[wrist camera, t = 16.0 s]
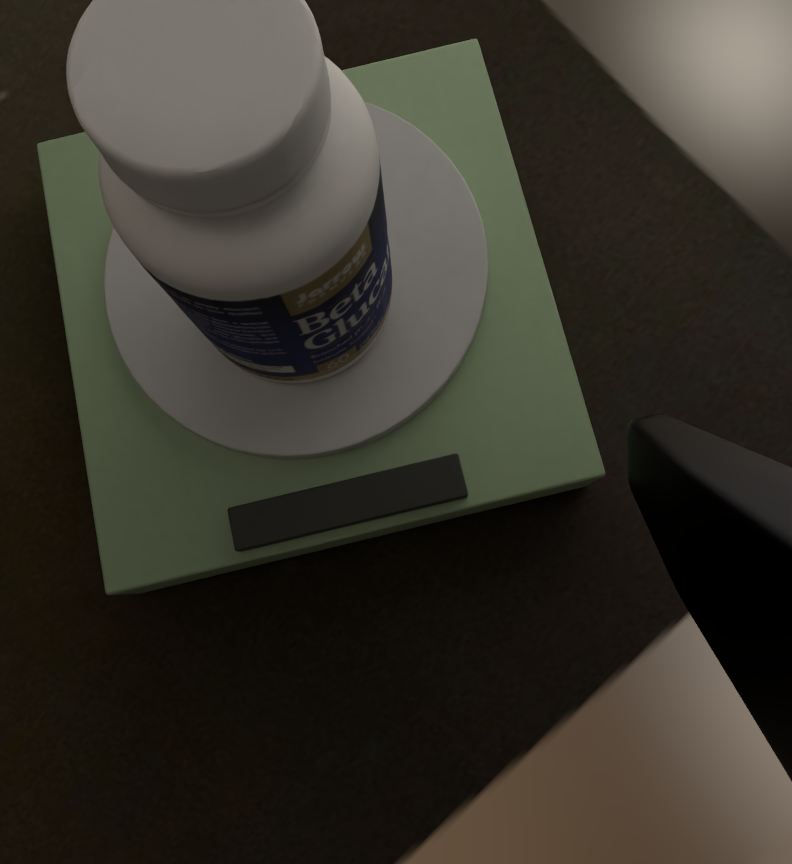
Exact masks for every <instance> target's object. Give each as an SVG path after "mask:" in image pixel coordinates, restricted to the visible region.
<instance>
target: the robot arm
mask: <svg viewBox="0 0 792 864" xmlns="http://www.w3.org/2000/svg"><path fill="white" fill-rule="evenodd" d="M626 436H627V475H628V481H629V485H630V488H631V491H632V493H633V495H634V498H635V500H636V502H637V504H638V506H639V509H640V511H641V513H642V515H643V518H644V520H645V522H646V524H647V526H648V529H649V531H650V533H651V535H652V537H653V540H654V542H655V544H656V546H657V549H658V551H659V553H660V555H661V557H662V560H663V562H664V564H665V566H666V568H667V571H668V573H669V575H670V577H671V579H672V581H673V583H674V586H675V588H676V590H677V592H678V593H679V595H680V597H681V599H682V601H683V602H684V604H685V606H686V608H687V609H688V611H689V613H690V614H691V616H692V618H693V619H694V621H695V622H696V624H697V626H698V627H699V629H700V631H701V632H702V634H703V636H704V637H705V639H706V640H707V642H708V644H709V646H710V647H711V649H712V650H713V652H714V654H715V655H716V657H717V659H718V660H719V662H720V664H721V665H722V667H723V669H724V670H725V672H726V673H727V675H728V677H729V678H730V680H731V682H732V683H733V685H734V687H735V688H736V690H737V692H738V693H739V695H740V697H741V698H742V700H743V701H744V703H745V705H746V707H747V708H748V710H749V711H750V713H751V715H752V716H753V718H754V720H755V721H756V723H757V725H758V726H759V728H760V730H761V731H762V733H763V734H764V736H765V738H766V740H767V741H768V743H769V744H770V746H771V748H772V749H773V751H774V752H775V754H776V756H777V758H778V759H779V761H780V762H781V764H782V766H783V767H784V769H785V771H786V772H787V774H788V776H789V777H790V779H791V781H792V468H791V467H788V466H786V465H784V464H781V463H779V462H776V461H774V460H772V459H769V458H767V457H764V456H762V455H760V454H757V453H755V452H753V451H750V450H748V449H745V448H743V447H741V446H738V445H736V444H734V443H731V442H729V441H726V440H724V439H722V438H719V437H717V436H714V435H712V434H710V433H707V432H705V431H703V430H700V429H698V428H695V427H693V426H691V425H688V424H686V423H684V422H681V421H679V420H676V419H674V418H672V417H669V416H667V415H664V414H655V415H650V416H646V417H642V418H638V419H634V420H631V421H630V423H629V424H628V426H627V432H626Z"/></svg>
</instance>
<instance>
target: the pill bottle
mask: <svg viewBox="0 0 792 864" xmlns="http://www.w3.org/2000/svg"><path fill="white" fill-rule="evenodd" d="M66 70H67V85H68V92H69V97H70V100H71V103H72V106H73V109H74V112H75V114H76V116H77V118H78V120H79V122H80V124H81V126H82V127H83V129H84V131H85V132H86V134H87V135H88V136H89V138H90V139H91V140H92V142H93V143H94V144H95V146H96V147H97V149H98V150H99V151H100V153H99V162H98V173H99V183H100V190H101V195H102V199H103V202H104V205H105V208H106V211H107V214H108V216H109V218H110V221H111V223H112V225H113V227H114V228H115V230H116V232H117V233H118V235H119V236H120V238H121V239H122V241H123V242H124V244H125V245H126V246H127V248H128V249H129V250H130V252H131V253H132V254H133V255H134V256H135V258H136V259H137V260H138V261H139V263H140V264H141V265H142V266H143V268H144V269H145V270H146V271H147V272H148V273H149V274H150V275H151V277H152V278H153V279H154V280H155V281H156V282H157V283H158V284H159V285H160V286H161V287H162V288H163V290H164V291H165V292H166V293H167V294H168V295H169V296H170V297H171V299H172V300H173V301H174V302H175V303H176V304H177V305H178V307H179V308H180V309H181V310H182V311H183V312H184V313H185V315H186V316H187V317H188V318H189V319H190V320H191V321H192V322H193V323H194V324H195V326H196V327H197V328H198V329H199V330H200V331H201V332H202V333H203V334H204V335H205V337H206V338H207V339H208V340H209V341H210V342H211V343H212V344H213V345H214V346H215V347H216V349H217V350H218V351H219V352H220V353H222V354H223V355H224V356H225V357H226V358H227V359H228V360H229V361H231V362H232V363H233V364H234V365H236V366H237V367H239V368H240V369H242V370H244V371H245V372H247V373H249V374H251V375H253V376H256V377H259V378H261V379H265V380H269V381H273V382H278V383H305V382H312V381H317V380H321V379H324V378H327V377H330V376H333V375H335V374H337V373H339V372H341V371H343V370H344V369H346V368H348V367H349V366H351V365H352V364H354V363H355V362H356V361H357V360H359V359H360V358H361V357H362V356H363V355H364V354H365V353H366V352H367V351H368V350H369V348H370V347H371V346H372V345H373V343H374V342H375V341H376V339H377V338H378V336H379V334H380V333H381V331H382V329H383V327H384V325H385V322H386V320H387V317H388V314H389V309H390V305H391V299H392V287H393V283H392V280H393V279H392V266H391V257H390V247H389V238H388V229H387V219H386V210H385V201H384V192H383V184H382V174H381V165H380V155H379V150H378V144H377V139H376V134H375V130H374V126H373V123H372V120H371V117H370V114H369V112H368V110H367V108H366V105H365V103H364V101H363V99H362V97H361V96H360V94H359V93H358V91H357V90H356V88H355V87H354V85H353V84H352V83H351V81H350V80H349V79H348V78H347V77H346V75H345V74H344V73H343V72H342V71H341V70H340V69H339V68H338V67H337V66H336V65H335V64H334V63H332V62H331V61H330V60H329V59H328V58H326V57H325V56H324V53H323V48H322V43H321V38H320V34H319V31H318V27H317V25H316V22H315V19H314V17H313V14H312V12H311V10H310V9H309V7H308V5H307V3H306V2H305V0H93V1H92V2H91V4H90V5H89V6H88V7H87V9H86V11H85V12H84V14H83V16H82V17H81V19H80V20H79V22H78V25H77V27H76V30H75V32H74V34H73V37H72V40H71V43H70V46H69V51H68V56H67V65H66Z"/></svg>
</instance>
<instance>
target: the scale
mask: <svg viewBox="0 0 792 864" xmlns="http://www.w3.org/2000/svg"><path fill="white" fill-rule="evenodd" d="M342 72H343V73H344V74H345V75H346V77H347V78H348V79H349V80H350V81H351V83H352V84H353V85H354V87H355V88H356V90H357V91H358V93H359V94H360V96H361V97H362V99H363V101H364V103H365V105H366V108H367V110H368V112H369V114H370V117H371V120H372V123H373V126H374V130H375V134H376V139H377V144H378V150H379V155H380V165H381V174H382V184H383V192H384V201H385V210H386V219H387V229H388V238H389V247H390V257H391V266H392V279H393V280H392V283H393V287H392V299H391V305H390V309H389V314H388V317H387V320H386V322H385V325H384V327H383V329H382V331H381V333H380V334H379V336H378V338H377V339H376V341H375V342H374V343H373V345H372V346H371V347H370V348H369V350H368V351H367V352H366V353H365V354H364V355H363V356H362V357H361V358H360V359H359V360H357V361H356V362H355V363H354V364H352V365H351V366H349V367H348V368H346V369H344V370H343V371H341V372H339V373H337V374H335V375H333V376H330V377H327V378H324V379H321V380H317V381H312V382H305V383H278V382H273V381H269V380H265V379H261V378H259V377H256V376H253V375H251V374H249V373H247V372H245V371H244V370H242V369H240V368H239V367H237V366H236V365H234V364H233V363H232V362H231V361H229V360H228V359H227V358H226V357H225V356H224V355H223V354H222V353H220V352H219V351H218V350H217V349H216V347H215V346H214V345H213V344H212V343H211V342H210V341H209V340H208V339H207V338H206V337H205V335H204V334H203V333H202V332H201V331H200V330H199V329H198V328H197V327H196V326H195V324H194V323H193V322H192V321H191V320H190V319H189V318H188V317H187V316H186V315H185V313H184V312H183V311H182V310H181V309H180V308H179V307H178V305H177V304H176V303H175V302H174V301H173V300H172V299H171V297H170V296H169V295H168V294H167V293H166V292H165V291H164V290H163V288H162V287H161V286H160V285H159V284H158V283H157V282H156V281H155V280H154V279H153V278H152V277H151V275H150V274H149V273H148V272H147V271H146V270H145V269H144V268H143V266H142V265H141V264H140V263H139V261H138V260H137V259H136V258H135V256H134V255H133V254H132V253H131V252H130V250H129V249H128V248H127V246H126V245H125V244H124V242H123V241H122V239H121V238H120V236H119V235H118V233H117V232H116V230H115V228H114V227H113V225H112V223H111V221H110V218H109V216H108V214H107V211H106V208H105V205H104V202H103V199H102V195H101V190H100V183H99V173H98V162H99V153H100V151H99V150H98V149H97V147H96V146H95V144H94V143H93V142H92V140H91V139H90V138H89V136H88V135H87V134H86V132H83V133H79V134H75V135H71V136H67V137H62V138H58V139H54V140H50V141H46V142H42V143H38V144H37V149H38V156H39V162H40V169H41V175H42V182H43V188H44V195H45V201H46V208H47V214H48V221H49V227H50V234H51V240H52V247H53V253H54V260H55V266H56V273H57V279H58V286H59V292H60V299H61V306H62V312H63V319H64V325H65V332H66V338H67V345H68V351H69V358H70V364H71V371H72V377H73V384H74V390H75V397H76V403H77V410H78V416H79V423H80V429H81V436H82V442H83V449H84V455H85V462H86V468H87V475H88V481H89V488H90V494H91V501H92V508H93V514H94V521H95V527H96V534H97V540H98V547H99V553H100V560H101V566H102V573H103V579H104V586H105V592H106V594H107V595H122V594H139V593H144V592H148V591H153V590H157V589H161V588H165V587H169V586H173V585H178V584H182V583H186V582H190V581H194V580H198V579H202V578H207V577H211V576H215V575H219V574H223V573H227V572H232V571H236V570H240V569H244V568H248V567H252V566H257V565H261V564H265V563H269V562H273V561H277V560H282V559H286V558H290V557H294V556H298V555H302V554H307V553H311V552H315V551H319V550H323V549H327V548H332V547H336V546H340V545H344V544H348V543H352V542H356V541H361V540H365V539H369V538H373V537H377V536H381V535H386V534H390V533H394V532H398V531H402V530H406V529H411V528H415V527H419V526H423V525H427V524H431V523H436V522H440V521H444V520H448V519H452V518H456V517H461V516H465V515H469V514H473V513H477V512H481V511H486V510H490V509H494V508H498V507H502V506H506V505H510V504H515V503H519V502H523V501H527V500H531V499H535V498H540V497H544V496H548V495H552V494H556V493H560V492H565V491H569V490H573V489H577V488H581V487H585V486H588V485H589V484H591V483H593V482H594V481H596V480H598V479H600V478H601V477H603V476H604V475H605V470H604V467H603V463H602V460H601V456H600V453H599V450H598V446H597V443H596V440H595V436H594V433H593V429H592V426H591V423H590V419H589V416H588V412H587V409H586V406H585V402H584V399H583V395H582V392H581V389H580V385H579V382H578V378H577V375H576V372H575V368H574V365H573V361H572V358H571V355H570V351H569V348H568V345H567V341H566V338H565V334H564V331H563V328H562V324H561V321H560V317H559V314H558V311H557V307H556V304H555V300H554V297H553V294H552V290H551V287H550V283H549V280H548V277H547V273H546V270H545V266H544V263H543V260H542V256H541V253H540V250H539V246H538V243H537V239H536V236H535V233H534V229H533V226H532V222H531V219H530V216H529V212H528V209H527V205H526V202H525V199H524V195H523V192H522V188H521V185H520V182H519V178H518V175H517V171H516V168H515V165H514V161H513V158H512V155H511V151H510V148H509V144H508V141H507V138H506V134H505V131H504V127H503V124H502V121H501V117H500V114H499V110H498V107H497V104H496V100H495V97H494V93H493V90H492V87H491V83H490V80H489V77H488V73H487V70H486V66H485V63H484V60H483V56H482V53H481V49H480V46H479V43H478V40H477V39H472V40H468V41H464V42H459V43H455V44H451V45H447V46H443V47H439V48H434V49H430V50H426V51H422V52H418V53H413V54H409V55H405V56H401V57H397V58H393V59H388V60H384V61H380V62H376V63H372V64H367V65H363V66H359V67H355V68H351V69H347V70H342Z"/></svg>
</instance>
